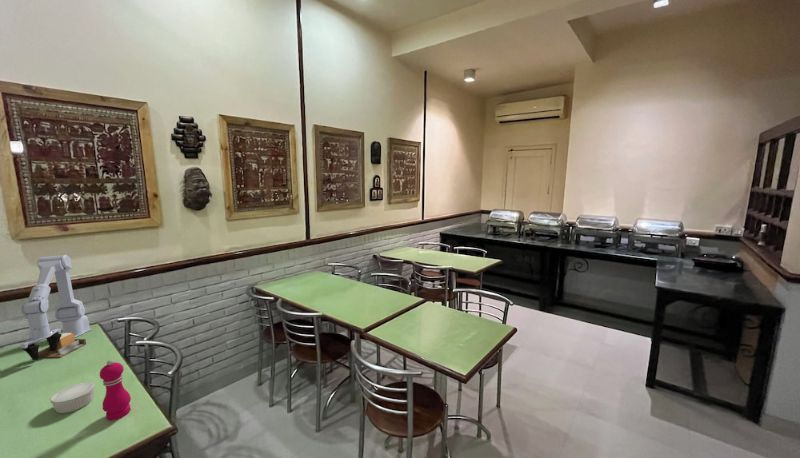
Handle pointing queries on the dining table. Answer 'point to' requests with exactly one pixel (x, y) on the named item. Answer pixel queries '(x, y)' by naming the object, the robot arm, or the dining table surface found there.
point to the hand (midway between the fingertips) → (45, 354)
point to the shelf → (62, 350)
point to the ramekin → (73, 397)
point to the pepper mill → (114, 391)
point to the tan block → (65, 340)
